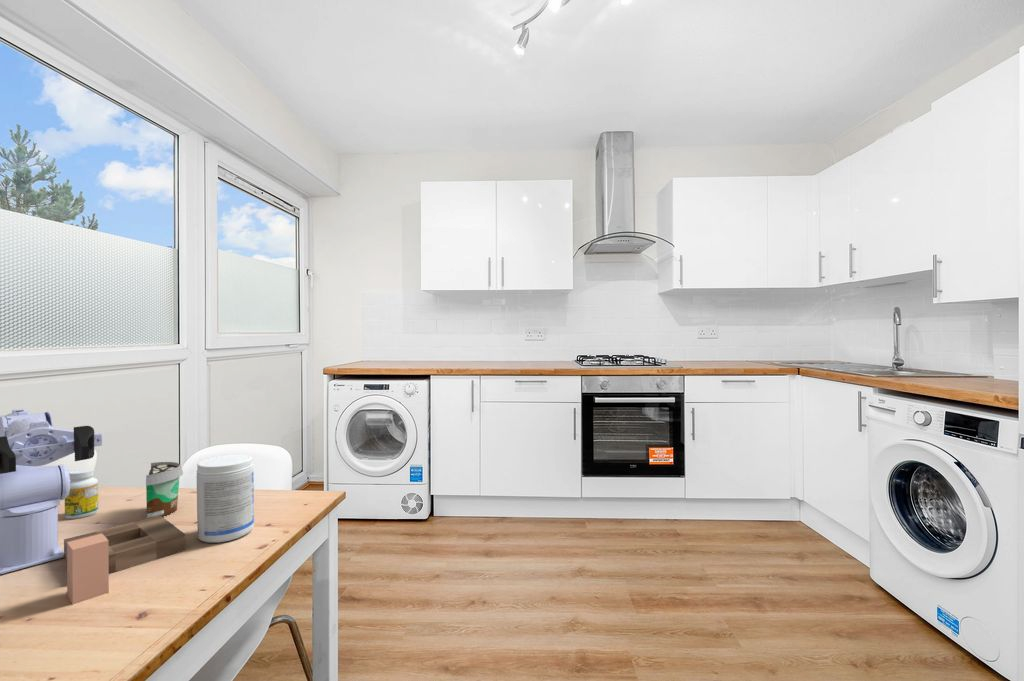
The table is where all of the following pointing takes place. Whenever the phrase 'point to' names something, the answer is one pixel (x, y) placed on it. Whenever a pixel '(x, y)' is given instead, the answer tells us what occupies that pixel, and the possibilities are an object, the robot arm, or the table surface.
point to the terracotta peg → (87, 568)
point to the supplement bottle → (82, 494)
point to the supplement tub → (225, 498)
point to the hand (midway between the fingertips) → (50, 458)
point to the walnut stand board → (138, 542)
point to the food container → (162, 488)
